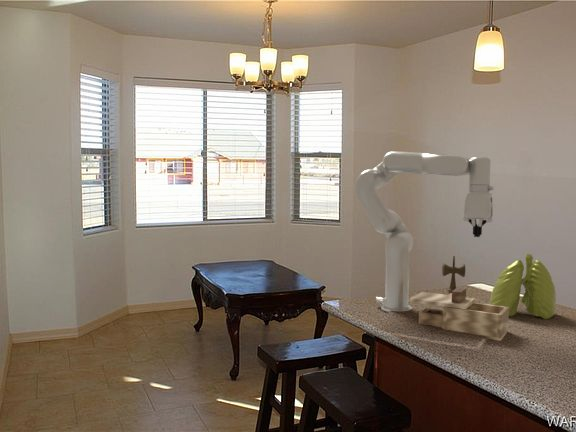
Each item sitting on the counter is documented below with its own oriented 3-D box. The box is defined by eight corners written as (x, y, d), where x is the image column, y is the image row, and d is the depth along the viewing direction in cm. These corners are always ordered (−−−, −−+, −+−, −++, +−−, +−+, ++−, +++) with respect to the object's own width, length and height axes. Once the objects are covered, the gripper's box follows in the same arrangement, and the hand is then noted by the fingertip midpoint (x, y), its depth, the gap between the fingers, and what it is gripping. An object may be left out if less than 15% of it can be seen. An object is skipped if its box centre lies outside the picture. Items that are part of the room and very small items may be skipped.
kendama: (464, 302, 250) (466, 257, 248) (442, 301, 251) (443, 256, 250) (462, 299, 256) (464, 255, 254) (440, 298, 257) (441, 254, 255)
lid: (409, 301, 212) (409, 287, 211) (421, 294, 223) (421, 281, 223) (465, 309, 201) (466, 294, 201) (474, 301, 213) (475, 287, 212)
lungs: (550, 310, 238) (553, 253, 236) (558, 320, 223) (562, 259, 221) (486, 306, 244) (489, 250, 242) (490, 315, 229) (493, 255, 227)
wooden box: (416, 327, 211) (417, 303, 210) (427, 319, 222) (428, 296, 222) (500, 340, 196) (501, 315, 195) (507, 331, 207) (508, 307, 206)
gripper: (501, 189, 220) (499, 237, 222) (461, 188, 228) (460, 234, 230) (497, 190, 214) (495, 239, 216) (456, 188, 222) (455, 236, 223)
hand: (477, 236), depth 223 cm, fingers closed
